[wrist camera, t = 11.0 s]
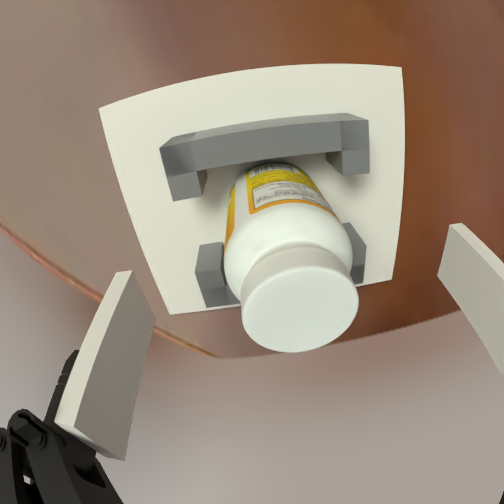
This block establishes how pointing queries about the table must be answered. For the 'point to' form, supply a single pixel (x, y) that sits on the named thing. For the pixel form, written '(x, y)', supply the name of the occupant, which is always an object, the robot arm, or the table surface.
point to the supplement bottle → (287, 259)
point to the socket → (254, 151)
